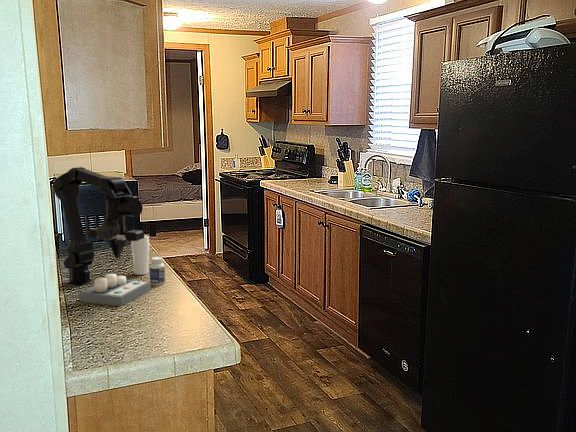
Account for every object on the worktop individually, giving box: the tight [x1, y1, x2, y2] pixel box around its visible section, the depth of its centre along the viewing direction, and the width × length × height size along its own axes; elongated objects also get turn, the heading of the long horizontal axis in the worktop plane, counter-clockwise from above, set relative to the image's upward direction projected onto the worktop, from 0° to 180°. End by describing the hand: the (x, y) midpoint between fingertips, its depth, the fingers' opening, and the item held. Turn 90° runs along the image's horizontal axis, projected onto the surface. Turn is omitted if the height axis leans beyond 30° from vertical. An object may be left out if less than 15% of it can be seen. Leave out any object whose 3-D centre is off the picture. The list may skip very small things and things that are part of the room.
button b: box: [104, 273, 118, 288], centre depth 186 cm, size 4×4×4 cm
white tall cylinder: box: [130, 234, 150, 276], centre depth 212 cm, size 7×7×15 cm
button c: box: [117, 275, 127, 285], centre depth 191 cm, size 4×4×4 cm
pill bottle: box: [149, 256, 166, 286], centre depth 200 cm, size 5×5×10 cm
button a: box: [94, 277, 108, 292], centre depth 181 cm, size 4×4×4 cm
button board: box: [79, 279, 152, 307], centre depth 186 cm, size 16×18×3 cm
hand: (117, 258), depth 189 cm, fingers closed
